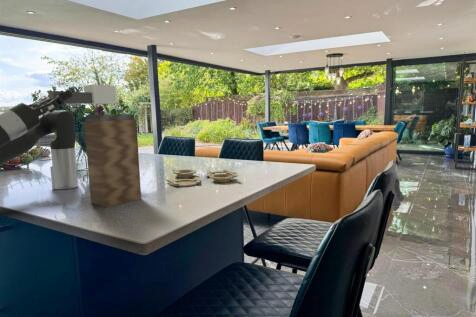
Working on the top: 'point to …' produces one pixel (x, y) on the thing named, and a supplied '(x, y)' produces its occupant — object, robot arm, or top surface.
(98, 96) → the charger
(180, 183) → the tableware set
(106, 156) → the wood-grain topped box
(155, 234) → the top surface
